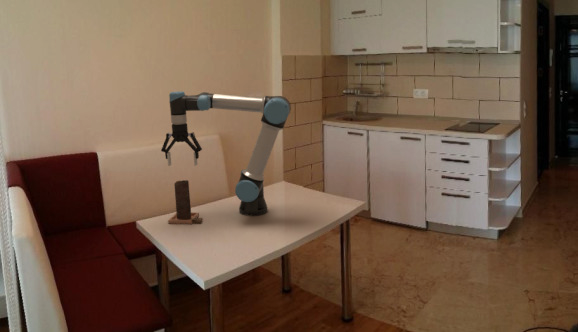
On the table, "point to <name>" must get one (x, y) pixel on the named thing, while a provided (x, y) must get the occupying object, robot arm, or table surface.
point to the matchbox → (197, 220)
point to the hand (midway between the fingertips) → (182, 165)
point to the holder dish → (182, 221)
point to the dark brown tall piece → (182, 199)
